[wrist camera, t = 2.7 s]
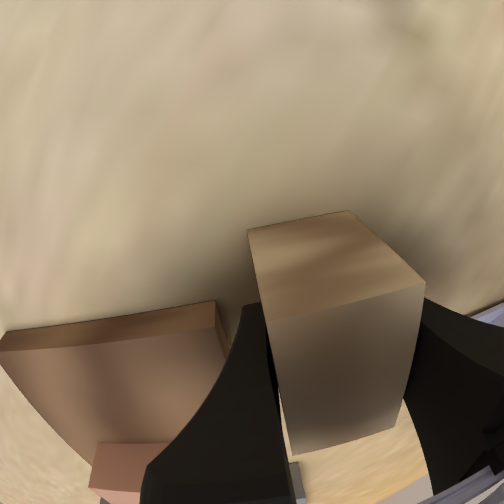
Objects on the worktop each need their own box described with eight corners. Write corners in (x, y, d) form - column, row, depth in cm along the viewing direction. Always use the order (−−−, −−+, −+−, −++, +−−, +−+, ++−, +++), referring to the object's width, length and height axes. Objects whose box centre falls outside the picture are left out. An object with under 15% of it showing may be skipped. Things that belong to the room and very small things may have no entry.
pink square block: (201, 440, 13) (201, 492, 11) (229, 482, 16) (232, 522, 13) (97, 442, 13) (88, 487, 10) (143, 485, 16) (139, 521, 13)
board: (214, 300, 12) (214, 326, 10) (267, 463, 18) (270, 482, 16) (5, 331, 12) (-8, 351, 10) (121, 471, 18) (118, 488, 16)
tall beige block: (348, 210, 11) (426, 282, 6) (351, 338, 13) (394, 426, 9) (246, 229, 11) (266, 322, 6) (272, 357, 13) (292, 455, 9)
